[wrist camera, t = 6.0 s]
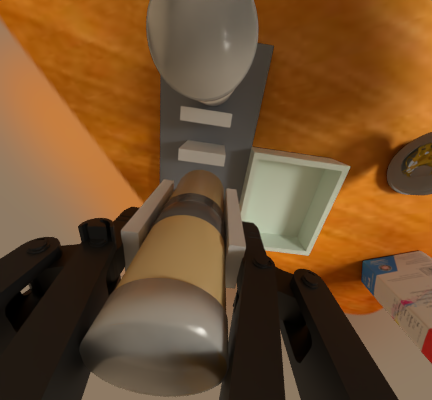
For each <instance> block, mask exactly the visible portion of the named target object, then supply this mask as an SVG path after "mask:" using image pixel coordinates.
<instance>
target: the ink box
mask: <svg viewBox="0 0 432 400" xmlns="http://www.w3.org/2000/svg"><path fill="white" fill-rule="evenodd" d="M361 281H362V283H363V284H364V285H365V286H366V287H367V289H368V290H369V291H370V292H371V293H372V295H373V296H374V297H375V298H376V299H377V300H378V301H379V303H380V304H381V305H382V306H383V307H384V309H385V310H386V311H387V312H388V313H389V314H390V315H391V317H392V318H393V319H394V320H395V321H396V323H397V324H398V325H399V326H400V327H401V328H402V330H403V331H404V332H405V333H406V334H407V335H408V337H409V338H410V339H411V340H412V341H413V343H414V344H415V345H416V346H417V347H418V348H419V349H420V351H421V352H422V353H423V354H424V355H425V356H426V358H427V359H428V360H429V361H430V362H431V363H432V258H431V257H429V256H428V255H426V254H425V253H423V252H422V251H415V252H410V253H404V254H398V255H393V256H387V257H382V258H376V259H370V260H365V261H363V265H362V279H361Z"/></svg>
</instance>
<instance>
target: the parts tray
mask: <svg viewBox="0 0 432 400" xmlns="http://www.w3.org/2000/svg"><path fill="white" fill-rule="evenodd" d="M350 167H351V166H348V165H346V164H344V163H341V162H339V161H337V160H334V159H332V158H326V157H319V156H312V155H306V154H299V153H292V152H285V151H279V150H272V149H265V148H259V147H252V148H251V153H250V157H249V162H248V166H247V171H246V176H245V180H244V185H243V189H242V194H241V198H240V203H239V208H240V214H241V220H242V221H244V222H251V223H254V224H255V225H256V226H257V227H258V229H259V232H260V236H261V239H262V242H263V246H264V249H265V250H267V251H275V252H283V253H291V254H299V255H307V256H309V254H310V252H311V250H312V248H313V246H314V243H315V241H316V239H317V237H318V235H319V233H320V231H321V229H322V226H323V224H324V222H325V220H326V218H327V216H328V214H329V212H330V210H331V207H332V205H333V203H334V201H335V199H336V197H337V195H338V193H339V190H340V188H341V186H342V184H343V182H344V180H345V178H346V176H347V174H348V171H349V169H350Z"/></svg>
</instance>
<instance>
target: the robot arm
mask: <svg viewBox="0 0 432 400" xmlns="http://www.w3.org/2000/svg"><path fill="white" fill-rule="evenodd" d="M173 191H174V181H172V180H165V179H164V180H163V181H162V182H161V183H160V185H159V186H158V187H157V188H156V189H155V190H154V192H153V193H152V194H151V195H150V196H149V198H148V199H147V200H146V201H145V202H144V204H143V205H142V206H141V207H140V208H137V207H130V208H128V209H126V210H124V211H123V212H122V213H121V214H120V216H118V218H116V220H115V221H113V222H112V221H111V220H109V219H106V218H95V219H90V220H87V221H85V222H83V223H82V224H80V225H79V226H78V228H79V233H80V237H81V241H82V242H81V244H77V245H66V246H61V245H60V242H59V240H58V239H57V238H54V237H43V238H37V239H34V240H31V241H29V242H27V243H25V244H23V245H21V246H20V247H18V248H16V249H15V250H13V251H12V252H10V253H9V254H7V255H6V256H4V257H2V258H1V259H0V400H81V399H82V396H83V393H84V390H85V387H86V384H87V381H88V378H89V375H90V372H91V371H90V370H89V369H88V368H87V367H86V366H85V364H84V363H83V360H82V357H81V355H80V352H79V350H80V344H81V342H82V340H83V338H84V337H85V335H86V334H87V332H88V330H89V329H90V327H91V325H92V324H93V322H94V320H95V319H96V317H97V315H98V314H99V312H100V310H101V309H102V307H103V306H104V304H105V302H106V301H107V299H108V297H109V296H110V294H111V293H112V292H113V291H114V290H115V289H116V287H117V285H118V284H119V282H120V280H121V276H120V273H121V272H122V271H123V269H124V267H125V272H126V270H127V269H128V267H129V265H130V264H131V262H132V260H133V259H134V257H135V255H136V254H137V252H138V250H139V249H140V247H141V245H142V244H143V242H144V240H145V239H146V237H147V234H148V232H149V230H150V228H151V227H152V225H153V223H154V222H155V220H156V218H157V217H158V215H159V213H160V212H161V210H162V208H163V207H164V205H165V204H166V203H167V202H168V200H169V198H170V197H171V195H172V193H173ZM224 217H225V236H226V248H225V284H226V287H227V288H235V286H236V283H237V293H236V297H235V300H234V304H233V307H234V309H233V315H232V322H231V328H230V334H229V341H228V356H229V368H228V371H227V374H226V377H225V379H224V380H223V381H222V385H221V392H220V397H219V400H285V390H284V376H283V362H282V349H281V337H280V330H281V334H282V337H283V340H284V344H285V347H286V351H287V354H288V357H289V361H290V364H291V367H292V371H293V374H294V378H295V381H296V385H297V388H298V391H299V395H300V398H301V400H398V398H397V396H396V395H395V393H394V392H393V390H392V388H391V387H390V385H389V384H388V382H387V381H386V379H385V377H384V376H383V374H382V373H381V371H380V369H379V368H378V366H377V365H376V363H375V362H374V360H373V358H372V357H371V355H370V354H369V352H368V350H367V349H366V347H365V346H364V344H363V342H362V341H361V339H360V338H359V336H358V335H357V333H356V332H355V330H354V328H353V327H352V325H351V323H350V322H349V320H348V319H347V317H346V315H345V314H344V312H343V311H342V309H341V308H340V306H339V304H338V303H337V301H336V300H335V298H334V296H333V295H332V293H331V292H330V290H329V288H328V287H327V285H326V284H325V282H324V281H323V280H322V279H321V277H319V276H318V275H317V274H315V273H314V272H312V271H310V270H306V269H298V270H296V271H295V272H294V274H291V273H288V272H286V271H283V270H281V269H279V268H277V267H275V264H274V262H273V261H272V259H271V258H269V257H268V256H267V255H266V252H265V249H264V246H263V242H262V239H261V236H260V232H259V229H258V227H257V226H256V225H255V224H254V223H251V222H244V221H242V220H241V214H240V208H239V202H238V197H237V191H236V189H229V188H226V194H225V199H224ZM27 285H29V287H30V289H29V290H28V291H26V292H25V293H23V294H21V292H20V291H21V290H22V289H23V288H24V287H26V286H27Z"/></svg>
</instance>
